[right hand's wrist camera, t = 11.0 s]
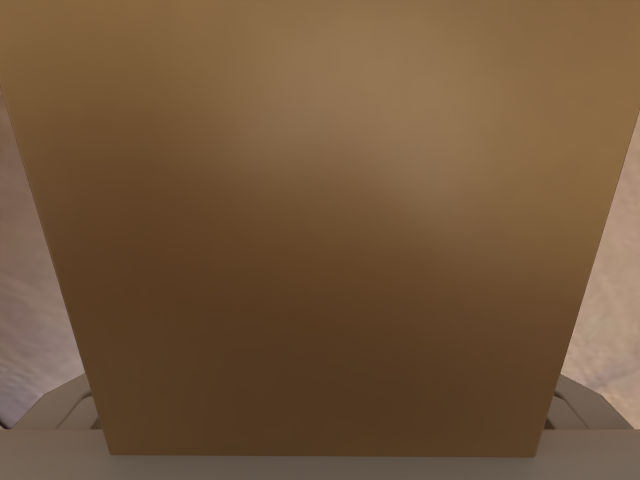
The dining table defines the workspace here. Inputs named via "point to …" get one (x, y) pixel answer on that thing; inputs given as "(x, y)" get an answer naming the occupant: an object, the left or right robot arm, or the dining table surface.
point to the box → (322, 211)
